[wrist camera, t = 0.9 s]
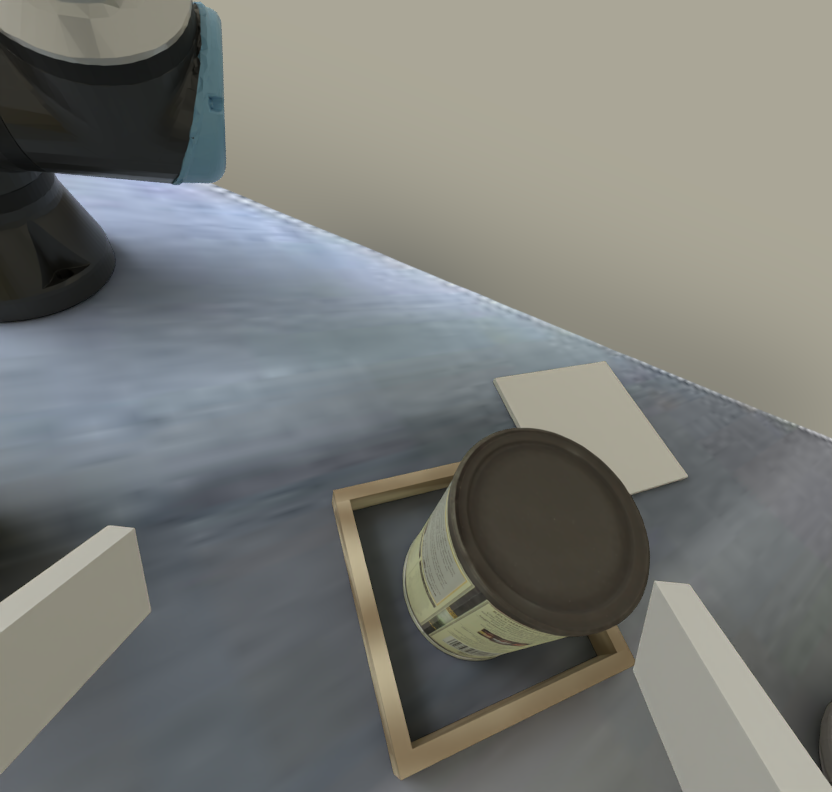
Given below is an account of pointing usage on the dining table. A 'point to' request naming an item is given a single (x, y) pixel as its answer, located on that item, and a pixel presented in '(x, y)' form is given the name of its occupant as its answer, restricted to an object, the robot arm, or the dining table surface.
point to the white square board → (593, 420)
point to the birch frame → (401, 750)
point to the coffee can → (526, 549)
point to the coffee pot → (826, 743)
